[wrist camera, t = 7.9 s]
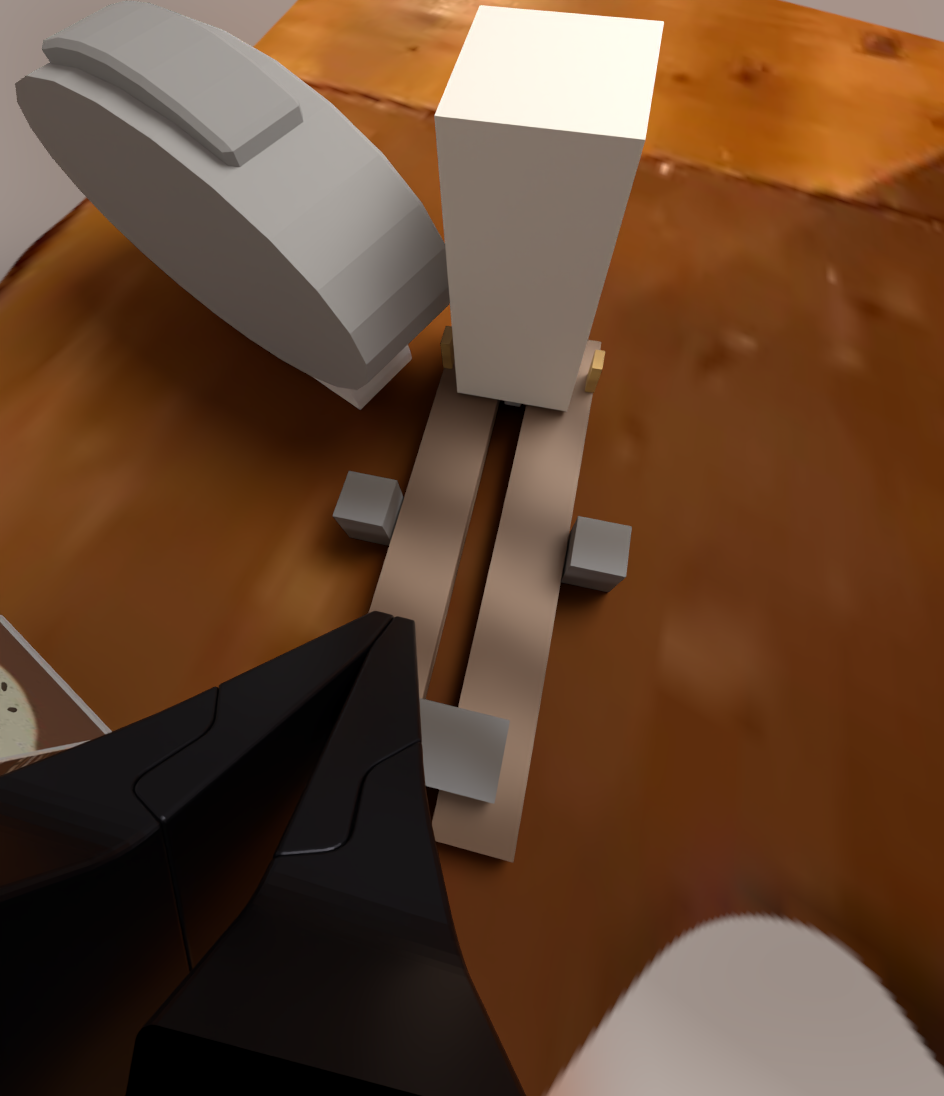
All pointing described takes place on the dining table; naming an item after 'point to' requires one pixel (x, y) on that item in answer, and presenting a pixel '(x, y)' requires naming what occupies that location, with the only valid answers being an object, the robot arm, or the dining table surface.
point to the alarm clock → (243, 190)
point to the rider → (537, 189)
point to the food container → (37, 706)
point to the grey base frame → (486, 588)
